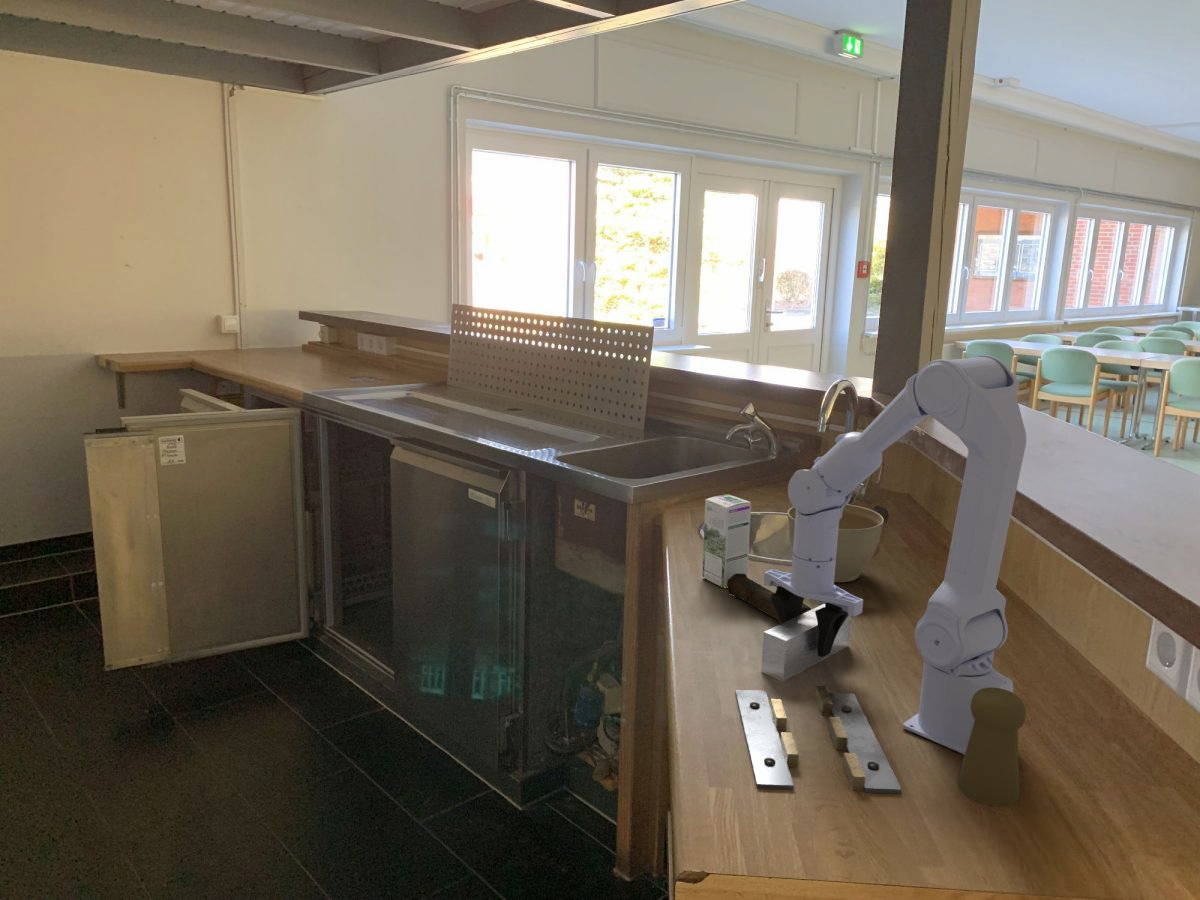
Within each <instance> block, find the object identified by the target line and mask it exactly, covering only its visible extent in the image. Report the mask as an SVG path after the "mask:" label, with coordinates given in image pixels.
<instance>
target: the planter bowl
mask: <svg viewBox="0 0 1200 900" xmlns="http://www.w3.org/2000/svg"><path fill="white" fill-rule="evenodd" d="M786 513H787V519H788V520H787V521H788V534H789V540H790V543H791V546H792V547H793V543H794V529H795V514H796V509H795V508H794V507H793V506H792V507H790V508H789V509H788V510H787V512H786ZM884 522H885V519H884V517H883V516H882V515H881V514H880V513H879V512H877V511H875V510H873V509H870V508H867V507H863V506H860V505H853V504H849V503H847V505H845V507H844V508H843V512H842V518H840V520H839V528H838V540H837V552H836V565H835V577H834V583H847V582H853V581H855V580H857V579H858V578H859V577H860V574H861V571H862V570H863V569H864V568H865V567H866V566H867V564H868V563H869V562H870V561H871V560H872V558H873V556H874V555H875V553H876V551H877V549H878V546H879V543H880V540H881V534H882V529H883V527H884Z"/></svg>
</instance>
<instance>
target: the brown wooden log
mask: <svg viewBox="0 0 1200 900" xmlns="http://www.w3.org/2000/svg"><path fill="white" fill-rule="evenodd" d="M727 587H728V588H727V593H728V595H729V594H732V595H734V598H735V597H736V598H735V599H738V598H739V599H741V600H743V601H745V602H746V603H748V604H750V605H752V606H753V607H754V608H756V609H758V610H760V611H762V612H763V613H765V614H767V615H769V616H770V617H772V618H774V619H775V620H777V621H778V622H779V623H780V624H781V621H780V618H779V615H778V613H777V610H776V608H775V606H774V604H773V603H772V601H771V595H772V594H773V593H775V592H773V590H770V589H768V588H766V587H764V585H762V584H760V583H757V582H756V581H754V580H752V579H750V578H749V577H748V578H747V576H746V574H741V573H739V574H737V573H736V574H734V575H733V576H732V577H731V578H729V579H728V581H727ZM732 595H731V596H732ZM810 610H812V608H811V607H810V606H808V604H805V603H803V604H802V608H801V612H800V615H801V614H803V613H805V612H808V611H810Z"/></svg>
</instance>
